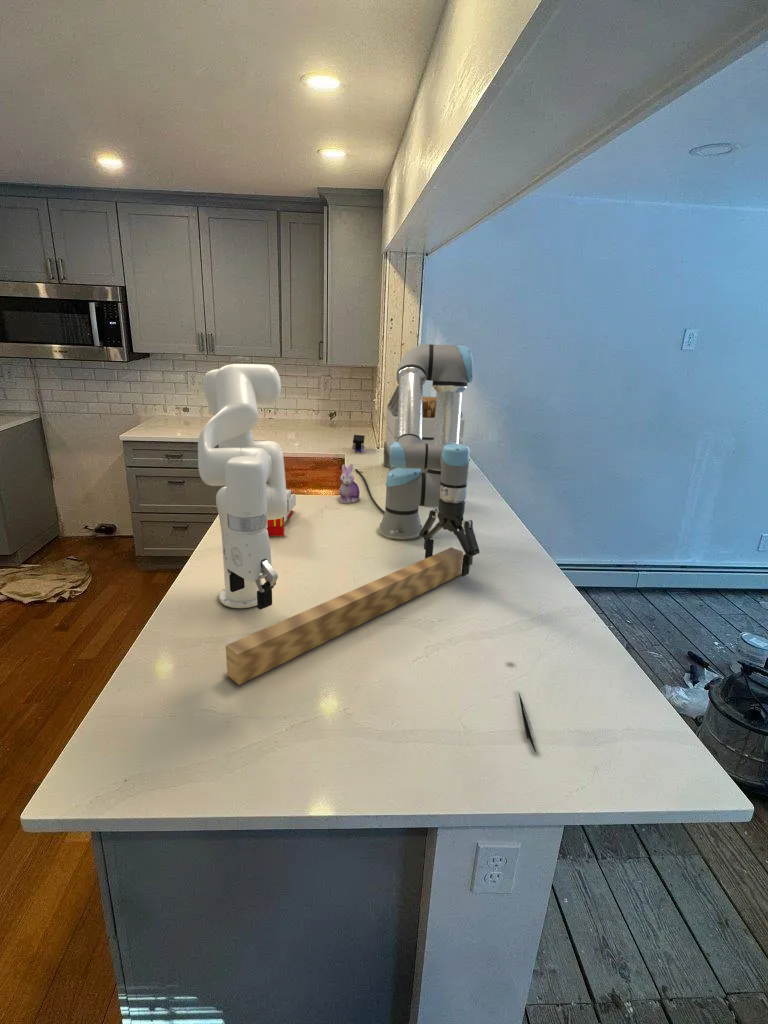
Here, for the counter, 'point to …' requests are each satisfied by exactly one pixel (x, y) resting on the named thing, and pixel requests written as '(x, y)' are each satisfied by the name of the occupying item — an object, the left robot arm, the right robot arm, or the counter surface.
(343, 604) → the post
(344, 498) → the figurine
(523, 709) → the feather
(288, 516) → the toy
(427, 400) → the white storage crate
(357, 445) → the figurine character
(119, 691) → the counter surface
